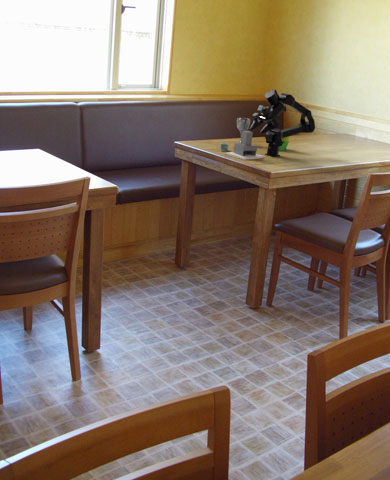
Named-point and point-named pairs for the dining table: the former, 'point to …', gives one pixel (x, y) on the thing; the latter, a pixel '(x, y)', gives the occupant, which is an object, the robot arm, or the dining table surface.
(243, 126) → the wine glass
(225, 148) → the block
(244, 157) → the board
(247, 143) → the cover
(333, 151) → the dining table surface
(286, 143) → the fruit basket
